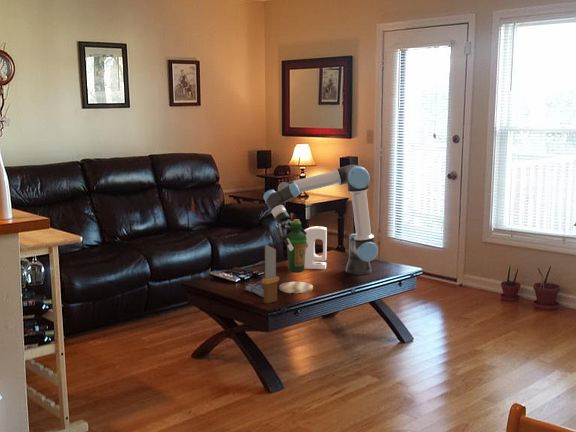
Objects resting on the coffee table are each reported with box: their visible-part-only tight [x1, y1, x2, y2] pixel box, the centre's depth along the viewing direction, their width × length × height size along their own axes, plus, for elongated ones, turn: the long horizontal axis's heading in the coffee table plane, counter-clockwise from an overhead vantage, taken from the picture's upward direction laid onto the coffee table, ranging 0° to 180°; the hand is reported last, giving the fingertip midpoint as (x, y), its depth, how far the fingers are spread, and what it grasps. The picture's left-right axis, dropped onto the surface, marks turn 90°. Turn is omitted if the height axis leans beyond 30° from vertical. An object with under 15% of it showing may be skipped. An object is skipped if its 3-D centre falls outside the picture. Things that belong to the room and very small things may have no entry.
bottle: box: [286, 218, 306, 274], centre depth 351 cm, size 11×11×28 cm
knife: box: [261, 244, 280, 304], centre depth 331 cm, size 8×4×30 cm, turn 136°
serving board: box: [279, 281, 314, 295], centre depth 355 cm, size 18×18×2 cm
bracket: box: [304, 225, 328, 270], centre depth 400 cm, size 7×21×25 cm, turn 82°
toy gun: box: [244, 280, 264, 298], centre depth 349 cm, size 4×19×15 cm
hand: (300, 248), depth 349 cm, fingers closed on bottle, 10 cm apart
